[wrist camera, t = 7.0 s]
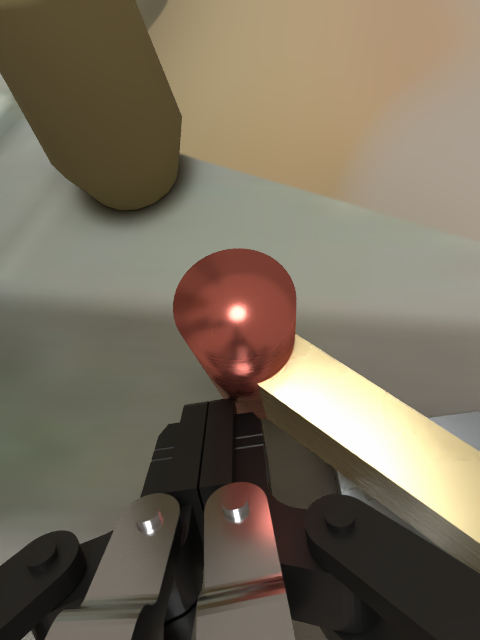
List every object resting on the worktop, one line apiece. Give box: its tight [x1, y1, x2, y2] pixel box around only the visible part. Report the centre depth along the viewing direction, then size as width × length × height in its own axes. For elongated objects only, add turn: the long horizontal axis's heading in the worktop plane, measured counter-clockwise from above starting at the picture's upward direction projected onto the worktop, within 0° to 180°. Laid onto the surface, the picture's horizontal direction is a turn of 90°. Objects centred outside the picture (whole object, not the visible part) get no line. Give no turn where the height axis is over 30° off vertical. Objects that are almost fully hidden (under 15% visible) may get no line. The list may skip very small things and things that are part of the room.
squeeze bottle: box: [0, 0, 182, 210], centre depth 18 cm, size 8×8×18 cm
